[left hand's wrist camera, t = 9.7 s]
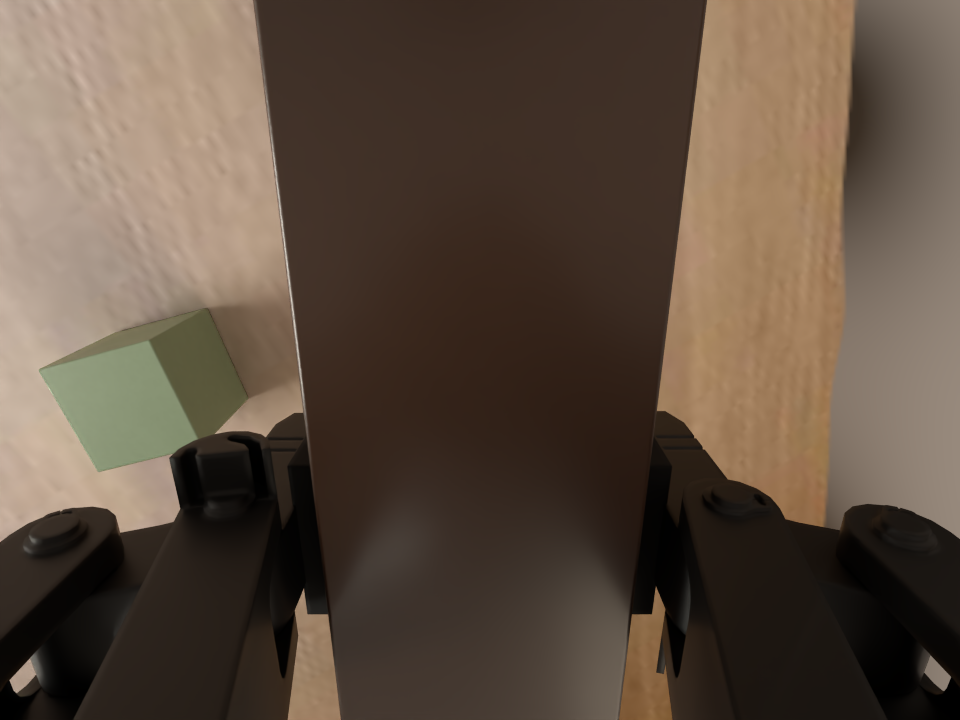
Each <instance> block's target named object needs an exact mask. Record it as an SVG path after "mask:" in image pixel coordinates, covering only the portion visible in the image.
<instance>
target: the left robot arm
mask: <svg viewBox="0 0 960 720" xmlns="http://www.w3.org/2000/svg"><path fill="white" fill-rule="evenodd" d="M169 459H170V464H171V468H172V473H173V477H174V482H175V486H176V491H177V495H178V500H179V504H180V511H179V513H178V515H177V517H176V519H175V521H174V522H172V523H168V524H164V525H159V526H154V527H149V528H143V529H138V530H133V531H128V532H123V533H120V530H119V527H118V523H117V519H116V516H115V515H114V514H113V513H112V512H110V511H109V510H108V509H103V508H97V507H83V508H70V509H65V510H63V511H61V512H60V511H57V512H53V513H50V514H48V515H46V516H44V517H43V518H40V519H38V520H35V521H33V522H31V523H28V524H27V525H25V526H24V527H22V528H20V529H19V530H17V531H15V532H14V533H12V534H11V535H9V536H8V537H7V538H5V539H4V540H3V541H1V542H0V720H288V712H289V704H290V696H291V688H292V680H293V672H294V665H295V657H296V649H297V641H298V630H297V623H296V617H295V608H296V606H297V603H298V601H299V598H300V596H301V594H302V591H303V589H304V592H305V599H306V606H307V613H308V614H328V608H327V600H326V592H325V584H324V576H323V567H322V559H321V551H320V543H319V535H318V526H317V518H316V510H315V502H314V494H313V486H312V477H311V469H310V461H309V453H308V445H307V436H306V428H305V420H304V413H294V414H292V415H291V416H289V417H287V418H286V419H284V420H282V421H281V422H279V423H277V424H276V425H275V426H274V428H273V429H272V430H271V431H270V433H269V434H268V435H267V437H266V438H265V437H264V436H263V435H261V434H257V433H253V432H248V431H232V432H225V433H219V434H213V435H209V436H206V437H203V438H200V439H197V440H194V441H192V442H190V443H188V444H187V445H185V446H183V447H181V448H179V449H178V450H177V451H176V452H175V453H174V454H173V455H172V456H171V457H170V458H169ZM656 587H657V590H658V592H659V594H660V597H661V599H662V602H663V604H664V607H665V609H666V610H665V617H664V623H663V630H662V637H661V643H660V650H659V657H658V664H657V671H656V673H662V674H664V670H665V664H666V671H667V679H668V687H669V695H670V703H671V710H672V718H673V720H960V539H959V538H958V537H956V536H955V535H954V534H952V533H951V532H949V531H948V530H946V529H945V528H943V527H941V526H940V525H938V524H936V523H935V522H933V521H931V520H929V519H926V518H924V517H922V516H919V515H917V514H915V513H914V512H912V511H909V510H906V509H902V508H900V509H898V508H897V507H894V506H889V505H873V504H865V505H859V506H853V507H851V508H850V509H849V510H848V511H846V512H845V514H844V517H843V521H842V525H841V528H840V530H835V529H830V528H824V527H819V526H814V525H808V524H803V523H798V522H794V521H790V520H786V519H785V518H784V516H783V514H782V512H781V510H780V508H779V507H778V506H777V504H776V503H775V502H774V501H773V500H772V499H771V498H770V497H769V496H767V495H766V494H764V493H763V492H761V491H760V490H758V489H756V488H754V487H751V486H749V485H746V484H744V483H741V482H738V481H732V480H728V479H727V478H726V477H725V475H724V474H723V473H722V471H721V470H720V469H719V467H718V466H717V465H716V464H715V462H714V461H713V460H712V458H711V457H710V456H709V455H708V453H707V452H706V451H705V450H703V447H702V445H701V444H700V443H699V442H698V440H697V439H696V438H694V435H693V434H692V432H691V431H690V430H689V429H688V427H687V426H686V425H685V423H684V422H682V421H680V420H679V419H677V418H676V417H674V416H672V415H671V414H669V413H667V412H666V411H657V413H656V421H655V429H654V437H653V445H652V453H651V462H650V470H649V478H648V486H647V494H646V502H645V511H644V519H643V527H642V535H641V543H640V551H639V560H638V568H637V576H636V584H635V592H634V601H633V609H632V614H652V610H653V603H654V595H655V588H656ZM930 655H931V656H932V657H933V658H934V659H935V660H936V661H937V662H938V663H939V664H940V666H941V667H942V668H943V669H944V670H945V671H946V672H947V673H948V674H949V675H950V676H951V679H950V682H949V684H948V687H947V689H946V690H945V691H942V690H941V689H940V688H939V687H937V686H936V685H935V684H934V683H933V682H932V681H931V680H930V679H929V677H928V676H927V675H926V674H925V673H924V671H925V668H926V666H927V663H928V660H929V657H930ZM29 659H31V662H32V665H33V667H34V670H35V673H36V676H35V677H34V678H33V679H32V680H31V681H30V682H29V684H28V685H27V686H26V687H24V688H23V689H22V690H21V691H19V692H18V693H17V694H16V693H15V692H14V691H13V688H12V686H11V683H10V681H9V680H10V679H11V678H12V677H13V676H14V675H15V673H16V672H17V671H18V670H19V669H20V668H21V667H22V666H23V665H24V664H25V663H26V662H27V661H28V660H29Z"/></svg>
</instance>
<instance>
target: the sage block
mask: <svg viewBox="0 0 960 720" xmlns="http://www.w3.org/2000/svg"><path fill="white" fill-rule="evenodd" d="M39 372H40V374H41V376H42V377H43V379H44V381H45V382H46V384H47V386H48V388H49V389H50V391H51V393H52V394H53V396H54V398H55V399H56V401H57V403H58V405H59V406H60V408H61V410H62V411H63V413H64V415H65V417H66V418H67V420H68V422H69V423H70V425H71V427H72V428H73V430H74V432H75V434H76V435H77V437H78V439H79V440H80V442H81V444H82V445H83V447H84V449H85V451H86V452H87V454H88V456H89V457H90V459H91V461H92V463H93V464H94V466H95V468H96V469H97V471H98V472H101V471H105V470H109V469H113V468H117V467H121V466H125V465H129V464H133V463H137V462H141V461H145V460H149V459H153V458H158V457H162V456H166V455H170V454H174V453H175V452H176V451H177V450H178V449H179V448H181V447H183V446H185V445H187V444H188V443H190V442H192V441H194V440H197V439H200V438H203V437H206V436H209V435H213V434H215V433H216V432H217V431H218V430H219V429H220V428H221V427H222V426H223V424H224V423H225V422H226V421H227V420H228V419H229V418H230V417H231V416H232V415H233V414H234V413H235V412H236V411H237V410H238V409H239V408H240V407H241V406H242V405H243V404H244V403H245V402H246V401H247V399H248V397H247V394H246V392H245V390H244V388H243V386H242V383H241V381H240V379H239V377H238V375H237V372H236V370H235V368H234V366H233V364H232V361H231V359H230V357H229V355H228V353H227V350H226V348H225V346H224V344H223V341H222V339H221V337H220V335H219V333H218V330H217V328H216V326H215V324H214V322H213V319H212V317H211V315H210V313H209V311H208V309H207V308H204V309H201V310H197V311H193V312H190V313H186V314H182V315H179V316H175V317H171V318H168V319H164V320H160V321H157V322H153V323H149V324H146V325H142V326H138V327H135V328H131V329H127V330H123V331H120V332H116V333H113V334H111V335H109V336H107V337H105V338H103V339H101V340H99V341H97V342H95V343H93V344H91V345H88V346H86V347H84V348H82V349H80V350H78V351H76V352H74V353H72V354H70V355H68V356H66V357H64V358H62V359H59V360H57V361H55V362H53V363H51V364H49V365H47V366H45V367H43V368H41V369H39Z"/></svg>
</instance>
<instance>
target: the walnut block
mask: <svg viewBox="0 0 960 720" xmlns="http://www.w3.org/2000/svg"><path fill="white" fill-rule="evenodd" d="M253 3H254V11H255V19H256V27H257V35H258V44H259V52H260V60H261V68H262V76H263V85H264V93H265V101H266V109H267V117H268V125H269V134H270V142H271V150H272V158H273V166H274V175H275V183H276V191H277V199H278V207H279V215H280V224H281V232H282V240H283V248H284V256H285V265H286V273H287V281H288V289H289V297H290V306H291V314H292V322H293V330H294V338H295V346H296V355H297V363H298V371H299V379H300V387H301V396H302V404H303V412H304V420H305V428H306V436H307V445H308V453H309V461H310V469H311V477H312V486H313V494H314V502H315V510H316V518H317V526H318V535H319V543H320V551H321V559H322V567H323V576H324V584H325V592H326V600H327V608H328V616H329V625H330V633H331V641H332V649H333V657H334V666H335V674H336V682H337V690H338V698H339V706H340V715H341V720H619V715H620V707H621V699H622V690H623V682H624V674H625V666H626V658H627V650H628V641H629V633H630V625H631V617H632V609H633V601H634V592H635V584H636V576H637V568H638V560H639V551H640V543H641V535H642V527H643V519H644V511H645V502H646V494H647V486H648V478H649V470H650V462H651V453H652V445H653V437H654V429H655V421H656V413H657V404H658V396H659V388H660V380H661V372H662V364H663V355H664V347H665V339H666V331H667V323H668V314H669V306H670V298H671V290H672V282H673V274H674V265H675V257H676V249H677V241H678V233H679V225H680V216H681V208H682V200H683V192H684V184H685V176H686V167H687V159H688V151H689V143H690V135H691V127H692V118H693V110H694V102H695V94H696V86H697V77H698V69H699V61H700V53H701V45H702V37H703V28H704V20H705V12H706V4H707V0H253Z"/></svg>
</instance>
